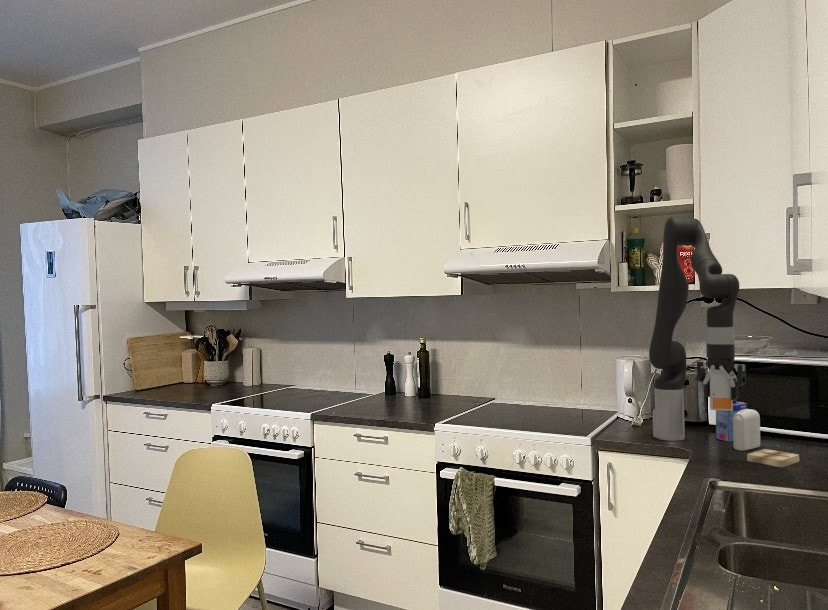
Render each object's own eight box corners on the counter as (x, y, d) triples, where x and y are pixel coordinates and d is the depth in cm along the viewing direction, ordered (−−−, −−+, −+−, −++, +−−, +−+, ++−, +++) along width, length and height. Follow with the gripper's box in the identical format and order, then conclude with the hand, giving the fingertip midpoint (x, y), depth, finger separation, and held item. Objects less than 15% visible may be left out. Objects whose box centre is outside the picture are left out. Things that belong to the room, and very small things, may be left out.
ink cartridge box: (729, 442, 217) (728, 398, 216) (715, 439, 222) (714, 396, 221) (748, 438, 222) (747, 395, 221) (733, 435, 226) (732, 393, 226)
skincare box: (710, 410, 192) (709, 369, 192) (709, 408, 196) (709, 368, 196) (733, 411, 190) (732, 370, 189) (732, 408, 194) (731, 368, 193)
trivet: (747, 460, 193) (747, 453, 193) (764, 455, 199) (764, 447, 199) (782, 467, 185) (782, 459, 185) (799, 461, 191) (799, 453, 191)
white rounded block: (749, 444, 213) (748, 406, 213) (762, 447, 209) (761, 408, 209) (731, 449, 207) (730, 410, 207) (744, 452, 204) (743, 412, 203)
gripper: (690, 341, 196) (691, 396, 196) (737, 344, 184) (738, 402, 185) (704, 340, 200) (705, 394, 201) (751, 342, 189) (752, 399, 189)
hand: (721, 398), depth 193 cm, fingers closed on skincare box, 7 cm apart
